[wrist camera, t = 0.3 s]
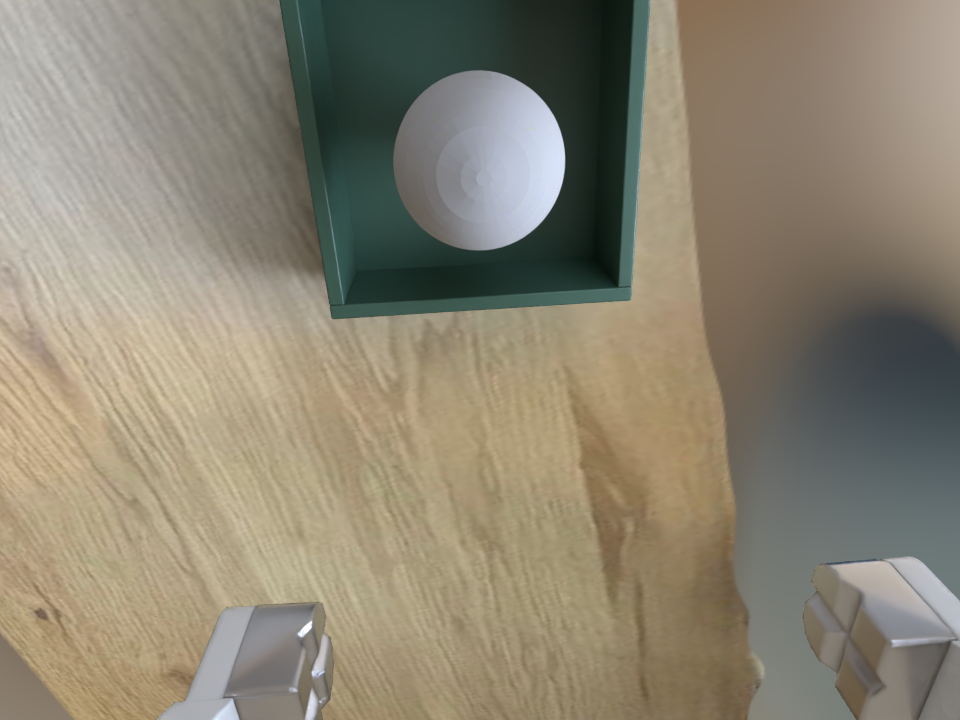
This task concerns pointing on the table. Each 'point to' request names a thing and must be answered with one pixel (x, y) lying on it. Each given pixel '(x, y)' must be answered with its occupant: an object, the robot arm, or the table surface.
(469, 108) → the light bulb
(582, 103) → the green open square box
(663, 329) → the table surface
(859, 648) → the robot arm
